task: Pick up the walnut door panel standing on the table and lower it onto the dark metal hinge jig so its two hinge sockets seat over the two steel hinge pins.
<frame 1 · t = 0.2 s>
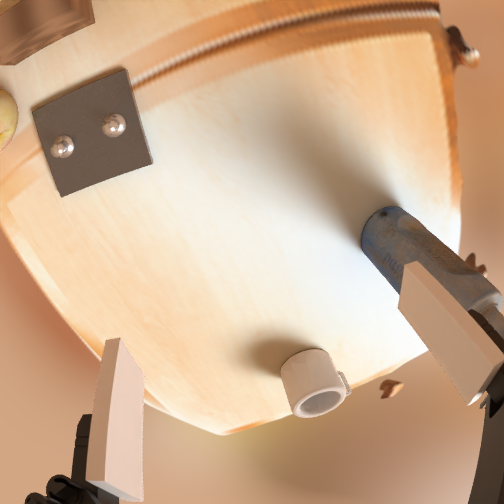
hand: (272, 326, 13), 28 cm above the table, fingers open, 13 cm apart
fruit: (8, 116, 27), on the table
mug: (310, 364, 60), on the table
hinge jig: (90, 134, 31), on the table
bottle: (384, 232, 46), on the table
door: (49, 28, 23), on the table
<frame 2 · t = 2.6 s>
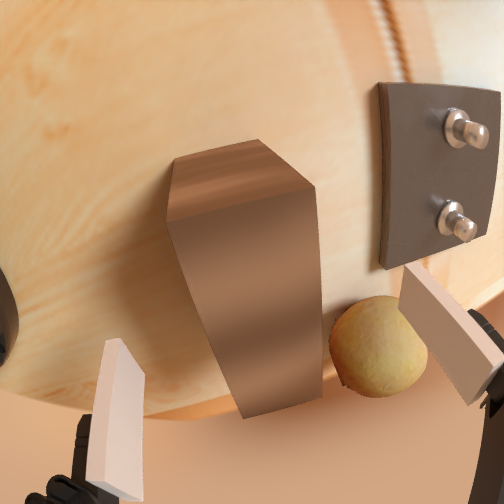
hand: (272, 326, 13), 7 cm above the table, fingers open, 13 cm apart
fruit: (358, 309, 24), on the table
hinge jig: (445, 170, 19), on the table
door: (237, 244, 19), on the table
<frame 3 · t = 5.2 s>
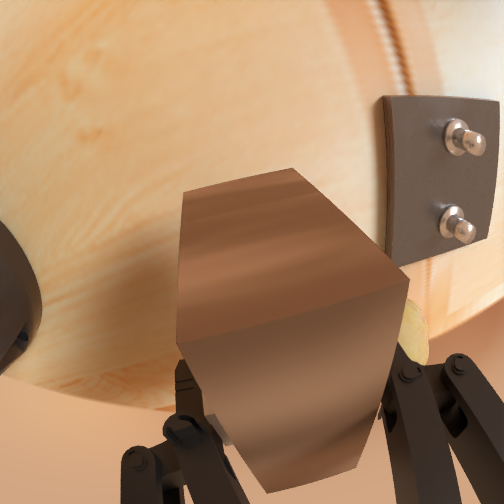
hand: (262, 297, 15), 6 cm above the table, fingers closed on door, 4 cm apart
fruit: (365, 307, 26), on the table
hinge jig: (446, 176, 20), on the table
door: (261, 295, 15), point 6 cm above the table, touching gripper
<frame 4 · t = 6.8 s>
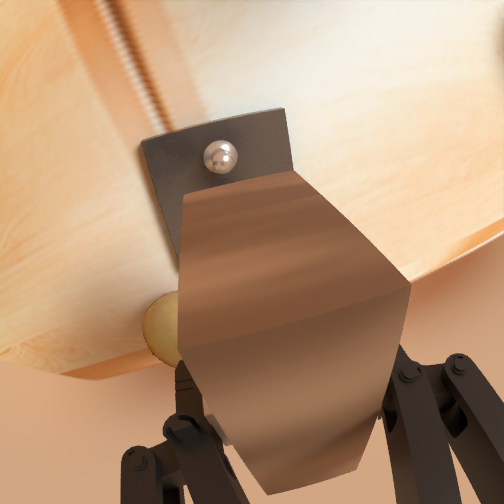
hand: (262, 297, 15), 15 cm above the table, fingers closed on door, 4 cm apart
fruit: (182, 301, 33), on the table
hinge jig: (227, 190, 27), on the table
door: (262, 297, 15), point 15 cm above the table, touching gripper
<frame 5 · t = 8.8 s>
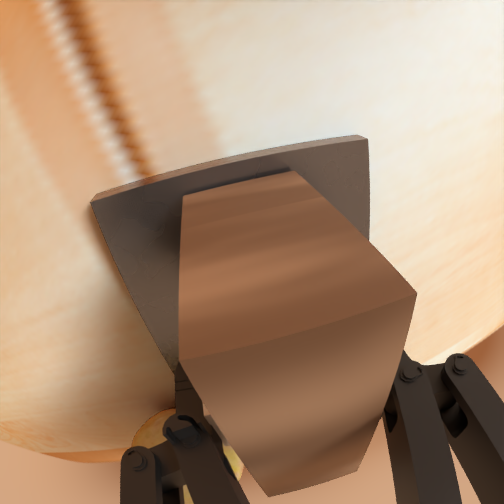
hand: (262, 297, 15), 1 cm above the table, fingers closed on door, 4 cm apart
fruit: (184, 409, 21), on the table
hinge jig: (254, 280, 16), on the table
door: (262, 299, 15), point 1 cm above the table, touching gripper, hinge jig
when the fingers open (1 cm above the table, at t = 9.6 s): door stays where it is, resting on hinge jig.
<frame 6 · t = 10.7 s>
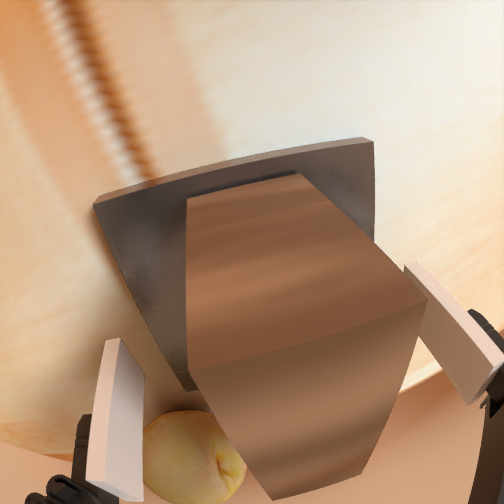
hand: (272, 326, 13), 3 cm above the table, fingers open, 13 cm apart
fruit: (186, 411, 21), on the table
hinge jig: (258, 283, 16), on the table
door: (266, 302, 15), point 1 cm above the table, touching hinge jig
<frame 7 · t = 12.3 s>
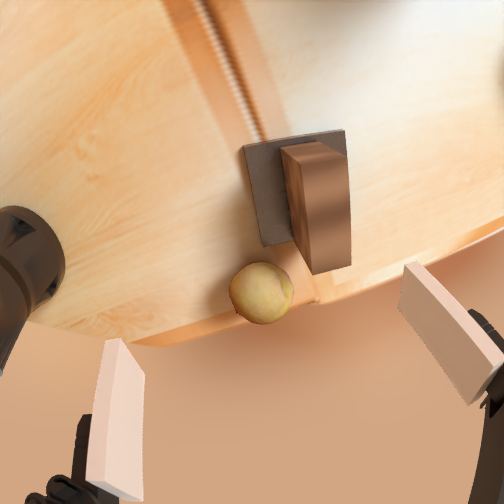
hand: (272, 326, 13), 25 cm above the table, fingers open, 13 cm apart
fruit: (256, 273, 43), on the table
hinge jig: (301, 187, 37), on the table
door: (305, 192, 36), point 1 cm above the table, touching hinge jig
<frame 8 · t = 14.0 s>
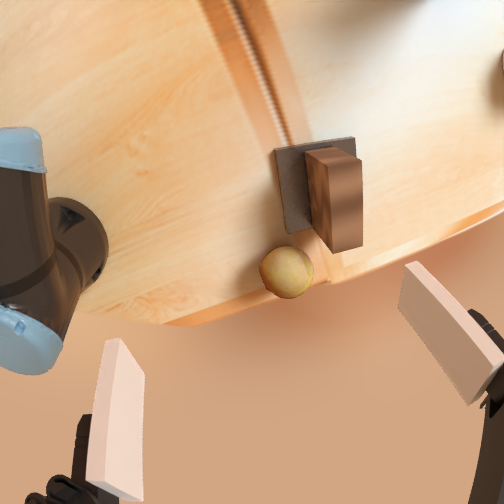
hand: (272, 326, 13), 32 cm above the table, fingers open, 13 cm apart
fruit: (280, 256, 50), on the table
hinge jig: (319, 183, 45), on the table
door: (323, 188, 44), point 1 cm above the table, touching hinge jig
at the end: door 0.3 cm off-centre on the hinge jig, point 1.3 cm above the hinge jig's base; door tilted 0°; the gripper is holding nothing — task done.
